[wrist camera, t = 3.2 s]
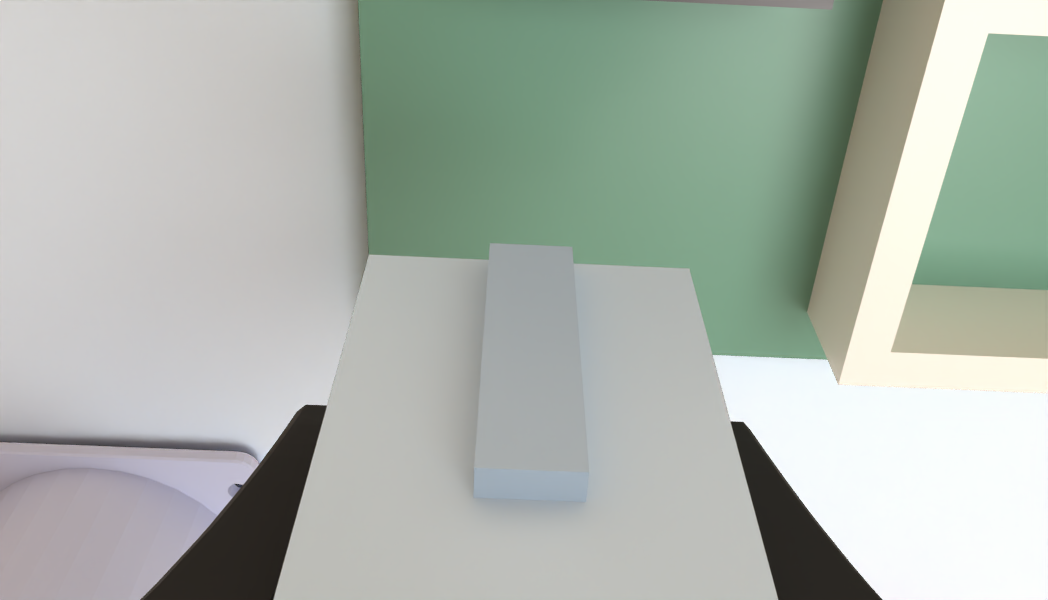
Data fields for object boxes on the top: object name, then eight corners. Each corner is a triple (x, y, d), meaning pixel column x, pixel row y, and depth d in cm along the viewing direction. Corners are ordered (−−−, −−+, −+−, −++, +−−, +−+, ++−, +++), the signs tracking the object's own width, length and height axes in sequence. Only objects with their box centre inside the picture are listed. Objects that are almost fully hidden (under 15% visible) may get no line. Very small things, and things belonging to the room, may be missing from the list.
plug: (651, 502, 14) (717, 949, 9) (378, 492, 14) (296, 936, 9) (692, 243, 12) (809, 652, 7) (367, 229, 12) (250, 630, 7)
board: (1133, 346, 22) (1157, 373, 22) (378, 314, 22) (372, 340, 21) (1416, -256, 16) (1465, -251, 15) (354, -316, 16) (344, -314, 15)
